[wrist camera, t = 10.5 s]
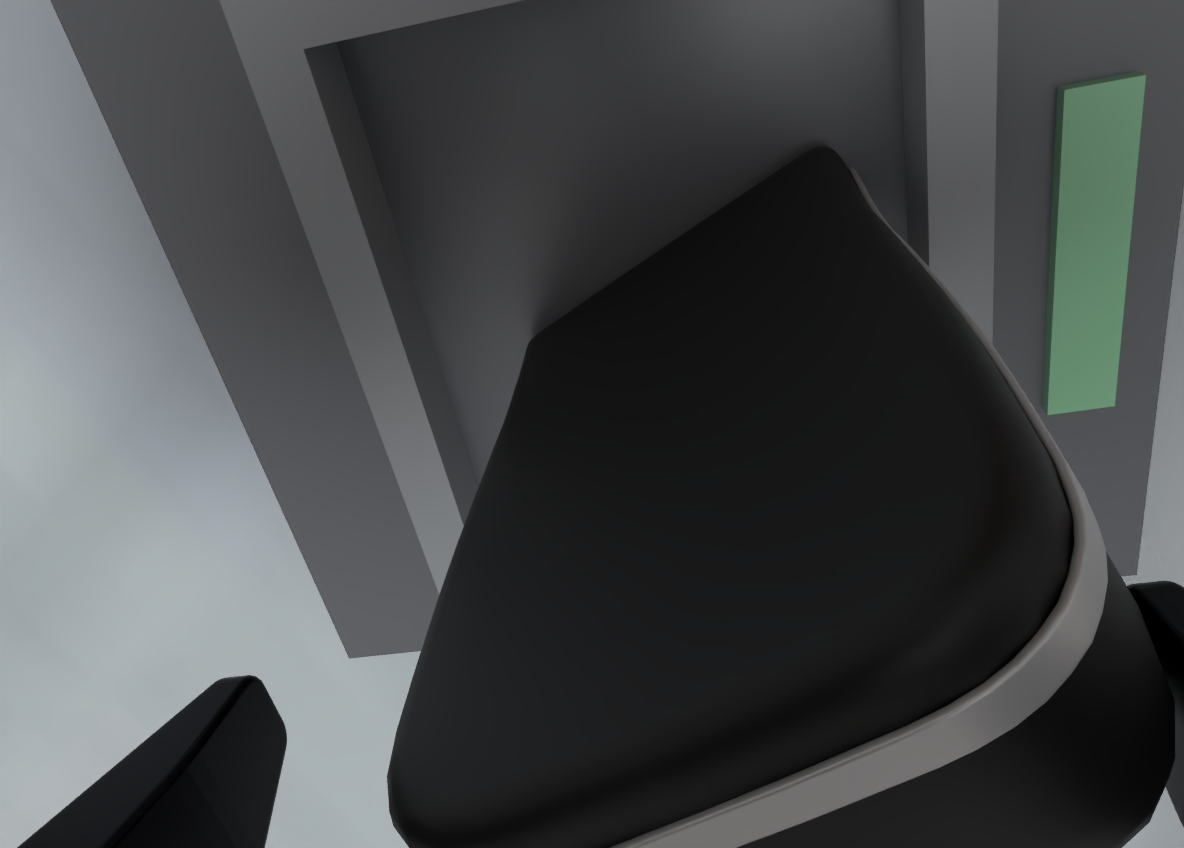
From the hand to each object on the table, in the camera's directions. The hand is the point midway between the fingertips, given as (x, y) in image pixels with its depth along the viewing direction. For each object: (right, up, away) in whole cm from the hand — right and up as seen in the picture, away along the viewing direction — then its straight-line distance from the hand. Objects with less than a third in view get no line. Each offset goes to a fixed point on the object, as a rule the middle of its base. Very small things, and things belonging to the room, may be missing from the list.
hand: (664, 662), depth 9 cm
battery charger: (+2, +5, +8) cm, 9 cm away
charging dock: (+1, +5, +8) cm, 10 cm away
